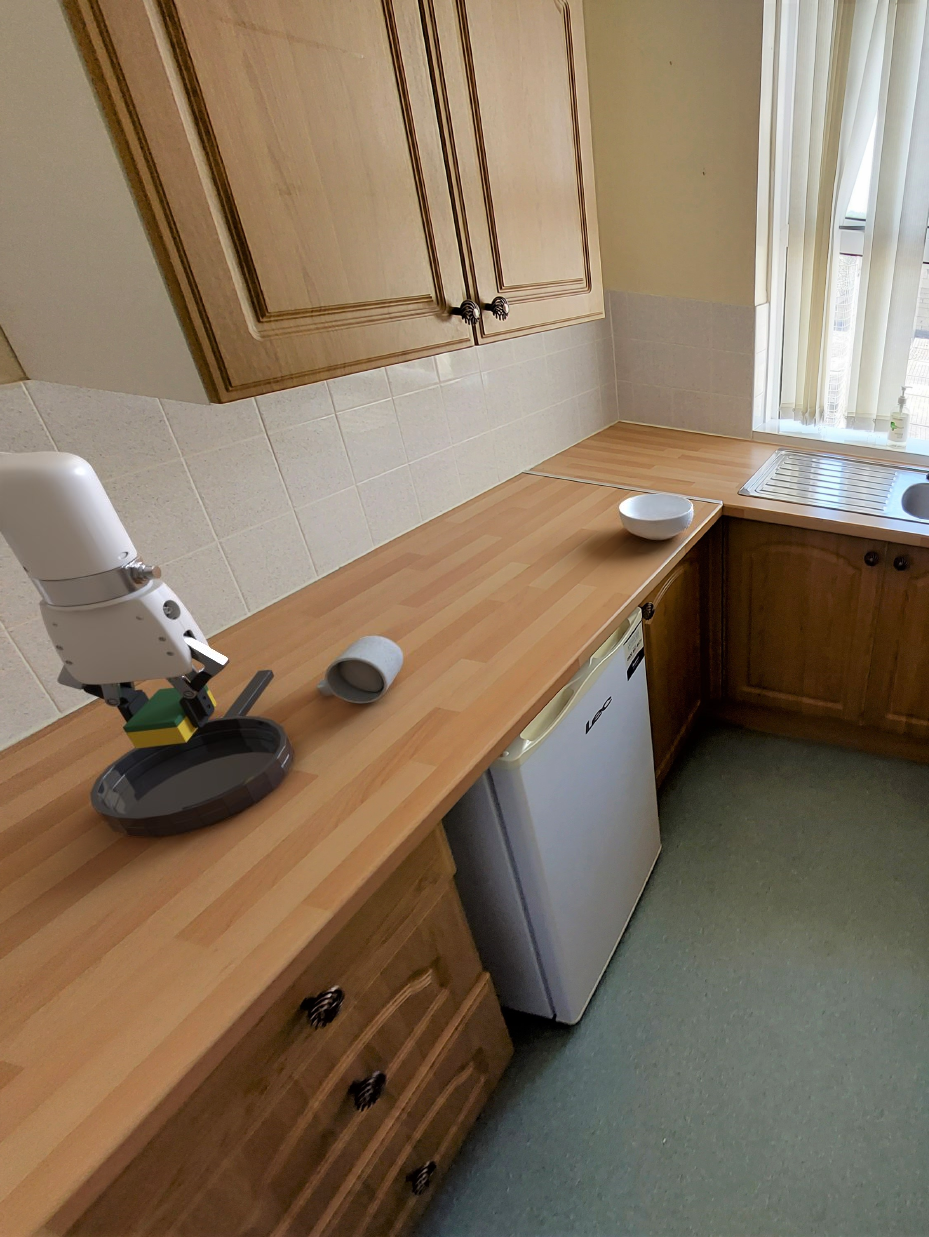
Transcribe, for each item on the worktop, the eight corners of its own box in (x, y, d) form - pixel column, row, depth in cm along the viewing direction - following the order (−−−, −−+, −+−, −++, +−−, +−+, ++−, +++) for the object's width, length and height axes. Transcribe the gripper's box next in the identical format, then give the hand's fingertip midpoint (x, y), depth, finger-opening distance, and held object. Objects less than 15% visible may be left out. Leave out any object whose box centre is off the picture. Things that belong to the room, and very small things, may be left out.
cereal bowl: (638, 516, 160) (636, 489, 156) (703, 525, 158) (702, 497, 155) (608, 542, 145) (605, 513, 142) (679, 552, 144) (677, 522, 140)
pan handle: (224, 726, 83) (220, 718, 83) (261, 677, 92) (258, 670, 92) (239, 724, 84) (236, 717, 83) (274, 676, 93) (271, 669, 92)
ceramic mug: (412, 670, 100) (398, 627, 96) (393, 702, 93) (377, 658, 89) (335, 674, 98) (318, 631, 94) (309, 708, 91) (289, 663, 87)
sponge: (135, 748, 70) (121, 727, 68) (170, 709, 76) (158, 688, 74) (186, 742, 71) (174, 721, 70) (217, 704, 77) (206, 683, 75)
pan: (66, 853, 68) (49, 830, 66) (157, 746, 82) (145, 725, 81) (261, 825, 73) (250, 803, 71) (316, 728, 87) (307, 708, 85)
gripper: (216, 558, 69) (278, 694, 79) (11, 570, 65) (103, 713, 74) (179, 590, 63) (251, 733, 72) (-50, 606, 58) (58, 757, 68)
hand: (175, 721), depth 73 cm, fingers closed on sponge, 4 cm apart
